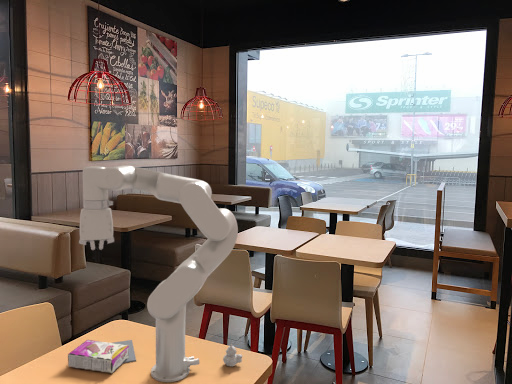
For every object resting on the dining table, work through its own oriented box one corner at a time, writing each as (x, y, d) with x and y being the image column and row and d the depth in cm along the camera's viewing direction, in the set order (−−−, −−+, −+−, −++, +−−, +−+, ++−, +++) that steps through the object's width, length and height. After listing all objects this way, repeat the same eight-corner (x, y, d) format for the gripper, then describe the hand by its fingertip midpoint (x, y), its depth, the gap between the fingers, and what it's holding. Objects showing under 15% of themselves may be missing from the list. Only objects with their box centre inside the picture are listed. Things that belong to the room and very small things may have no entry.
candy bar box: (87, 338, 152) (129, 344, 149) (87, 351, 153) (129, 358, 150) (67, 353, 142) (112, 359, 138) (67, 367, 142) (112, 374, 139)
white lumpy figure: (224, 360, 150) (224, 338, 149) (242, 361, 150) (243, 339, 149) (222, 368, 145) (222, 346, 144) (241, 369, 144) (242, 347, 144)
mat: (132, 341, 163) (131, 339, 163) (136, 361, 148) (136, 359, 148) (84, 347, 157) (83, 346, 157) (83, 369, 142) (83, 368, 142)
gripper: (119, 202, 143) (120, 256, 145) (71, 204, 138) (72, 259, 140) (121, 205, 136) (122, 262, 138) (70, 207, 131) (71, 265, 133)
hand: (97, 260), depth 139 cm, fingers closed
